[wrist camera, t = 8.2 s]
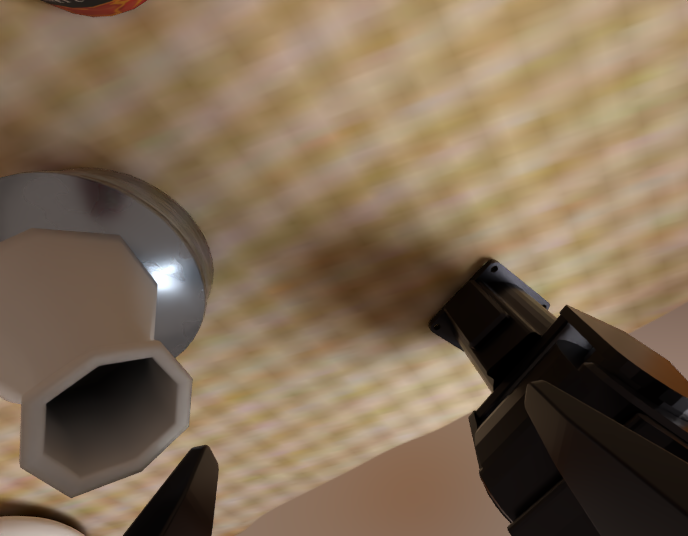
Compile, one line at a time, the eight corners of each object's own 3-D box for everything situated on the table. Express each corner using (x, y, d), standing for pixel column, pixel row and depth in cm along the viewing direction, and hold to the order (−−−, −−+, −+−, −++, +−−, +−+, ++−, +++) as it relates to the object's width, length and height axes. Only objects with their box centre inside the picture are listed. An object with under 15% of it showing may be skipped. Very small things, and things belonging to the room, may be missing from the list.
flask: (175, 345, 17) (283, 440, 11) (-17, 428, 13) (-48, 700, 6) (134, 211, 15) (236, 219, 8) (-119, 251, 10) (-367, 349, 4)
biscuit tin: (254, 239, 20) (245, 264, 16) (169, 363, 23) (148, 403, 20) (44, 111, 16) (-21, 111, 12) (-22, 283, 19) (-87, 318, 16)
